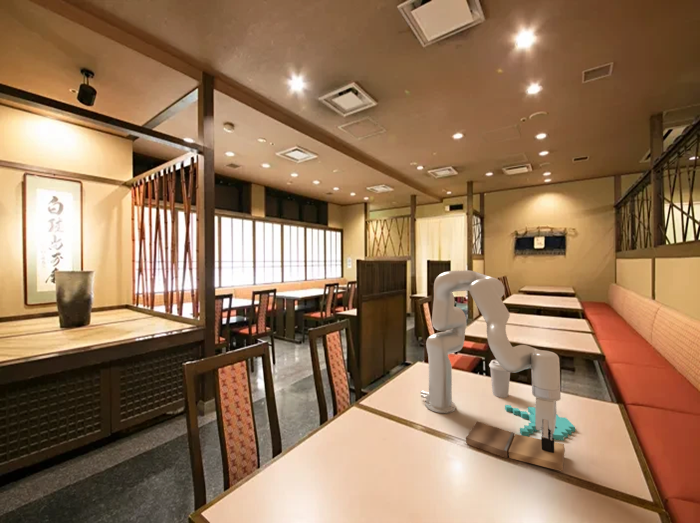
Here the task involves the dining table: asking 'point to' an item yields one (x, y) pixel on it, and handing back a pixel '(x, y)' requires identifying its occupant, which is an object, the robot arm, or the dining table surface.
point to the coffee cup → (499, 379)
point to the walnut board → (490, 439)
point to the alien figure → (561, 427)
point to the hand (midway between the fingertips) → (548, 450)
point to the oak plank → (536, 452)
